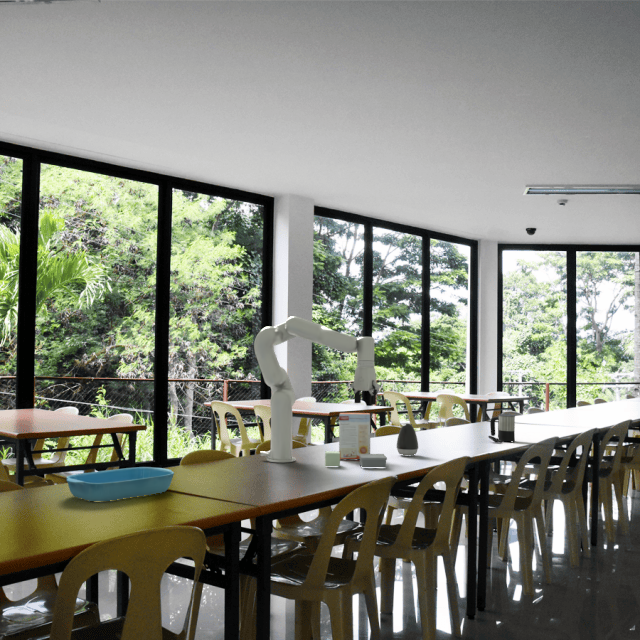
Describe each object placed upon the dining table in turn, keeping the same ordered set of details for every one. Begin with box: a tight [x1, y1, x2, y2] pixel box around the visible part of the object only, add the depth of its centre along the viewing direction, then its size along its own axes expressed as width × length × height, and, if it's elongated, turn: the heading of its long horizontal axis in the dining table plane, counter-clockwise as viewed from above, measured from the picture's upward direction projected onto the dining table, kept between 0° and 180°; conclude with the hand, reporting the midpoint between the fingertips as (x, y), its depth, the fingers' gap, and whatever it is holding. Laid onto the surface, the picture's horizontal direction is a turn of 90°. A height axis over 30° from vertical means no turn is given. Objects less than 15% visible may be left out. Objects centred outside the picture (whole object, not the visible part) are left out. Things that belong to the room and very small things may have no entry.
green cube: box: [324, 450, 341, 467], centre depth 289 cm, size 6×6×6 cm
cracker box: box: [338, 412, 371, 459], centre depth 309 cm, size 14×6×21 cm, turn 84°
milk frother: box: [487, 413, 516, 443], centre depth 378 cm, size 14×16×15 cm
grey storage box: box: [359, 453, 388, 468], centre depth 289 cm, size 11×11×5 cm
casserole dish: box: [66, 466, 175, 502], centre depth 228 cm, size 37×22×7 cm, turn 138°
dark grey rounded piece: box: [396, 423, 419, 456], centre depth 323 cm, size 10×10×15 cm
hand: (365, 403), depth 300 cm, fingers open, 9 cm apart
